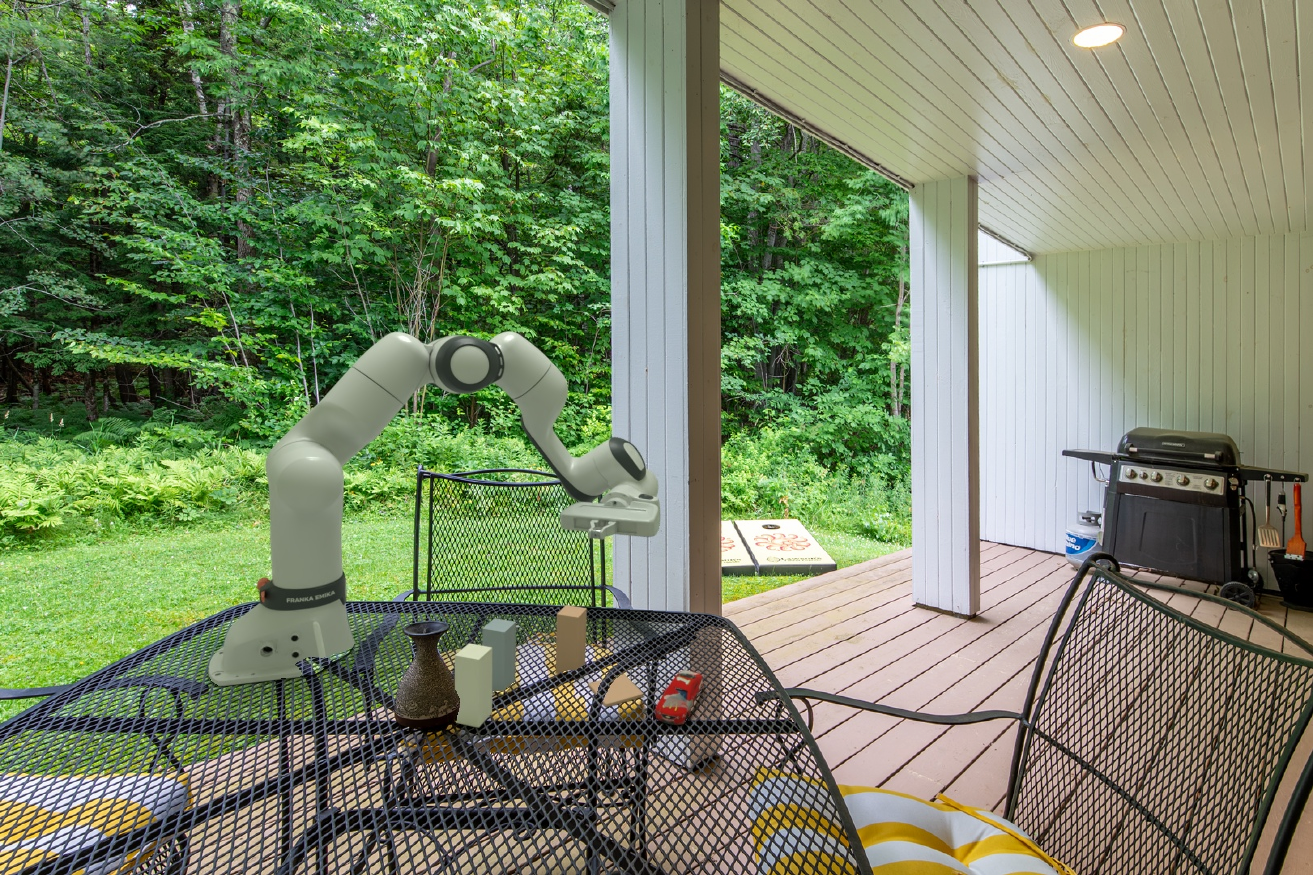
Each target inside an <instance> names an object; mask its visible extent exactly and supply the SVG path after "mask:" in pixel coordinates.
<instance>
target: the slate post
mask: <svg viewBox="0 0 1313 875" xmlns="http://www.w3.org/2000/svg"><path fill="white" fill-rule="evenodd" d="M481 632H482V635H481V636H482V638H481V639H482V642H481V643H482V644H481V646H486V647H492V691H504V690H506V688H507V687H509V686H510V685H511V684H512V683H514V682H515V683H516V663H517V662H516V658H517V657H516V655H517V653H516V651H517V650H516V648H517V646H516V644H517V621H512V620H505V619H501V618H493V619H492V620H491V621H490V622H488V623H487V624H486V625H485V626H483V627H482V631H481ZM515 683H514V684H515Z"/></svg>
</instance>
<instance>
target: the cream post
mask: <svg viewBox="0 0 1313 875" xmlns="http://www.w3.org/2000/svg"><path fill="white" fill-rule="evenodd" d="M455 690H456V691H457V694H458V696H459V698H460V708H459V712H458V715H457V721H456V723H455V724H461V725H464V726H469V727H475V728H478V729H479V728H480V727H481V726H482V725H483V724H484V723H485V722H486V720H487V719H488V718H489V717H490V716H491V713H493V692H492V647H486V646H482V644H474V643H467V645H465V646H464V647H462V649H460V651H458V652H457V653H455V655H454V691H455Z"/></svg>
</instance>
